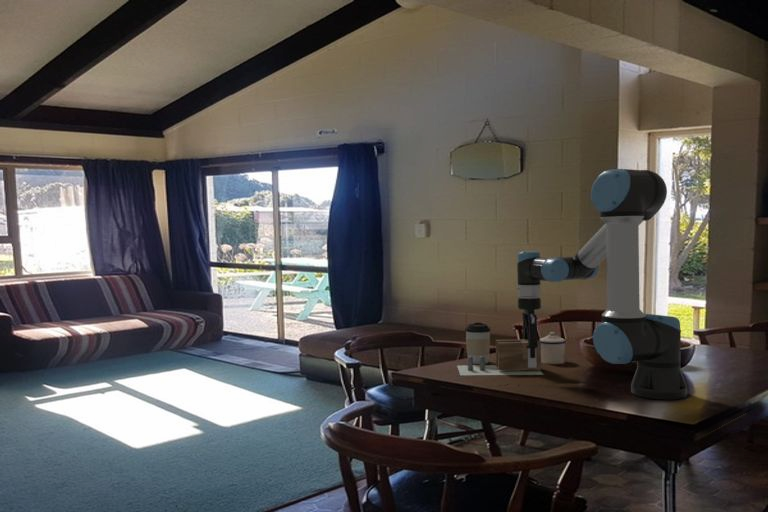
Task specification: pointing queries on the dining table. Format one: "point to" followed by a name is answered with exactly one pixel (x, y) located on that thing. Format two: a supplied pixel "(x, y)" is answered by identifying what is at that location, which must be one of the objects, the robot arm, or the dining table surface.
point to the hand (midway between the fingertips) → (530, 365)
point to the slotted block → (515, 355)
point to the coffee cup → (478, 341)
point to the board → (491, 369)
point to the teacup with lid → (552, 349)
